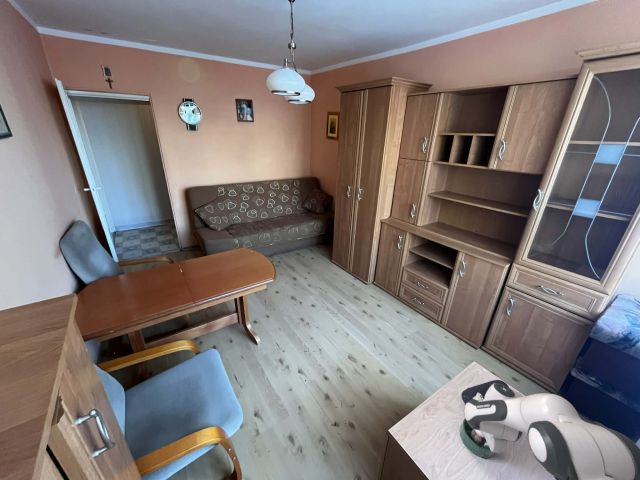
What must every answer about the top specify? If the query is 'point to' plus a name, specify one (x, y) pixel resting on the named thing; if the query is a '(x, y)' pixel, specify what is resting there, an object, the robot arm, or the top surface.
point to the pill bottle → (477, 437)
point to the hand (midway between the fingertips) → (480, 433)
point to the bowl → (476, 449)
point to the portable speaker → (479, 390)
